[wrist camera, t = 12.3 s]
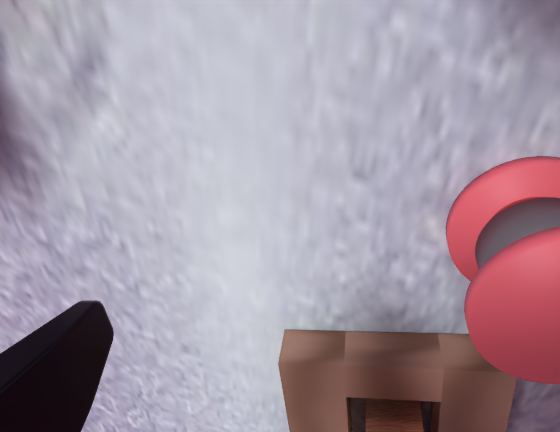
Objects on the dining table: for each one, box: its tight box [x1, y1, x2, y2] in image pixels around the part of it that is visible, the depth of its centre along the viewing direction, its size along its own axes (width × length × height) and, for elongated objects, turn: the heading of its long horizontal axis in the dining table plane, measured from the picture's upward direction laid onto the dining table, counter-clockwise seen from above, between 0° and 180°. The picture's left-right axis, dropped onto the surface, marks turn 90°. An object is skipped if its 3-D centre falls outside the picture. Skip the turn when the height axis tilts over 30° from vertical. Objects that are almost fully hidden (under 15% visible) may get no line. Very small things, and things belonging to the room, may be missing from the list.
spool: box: [446, 156, 560, 384], centre depth 20 cm, size 7×7×6 cm
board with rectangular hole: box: [278, 330, 517, 432], centre depth 29 cm, size 12×12×2 cm
